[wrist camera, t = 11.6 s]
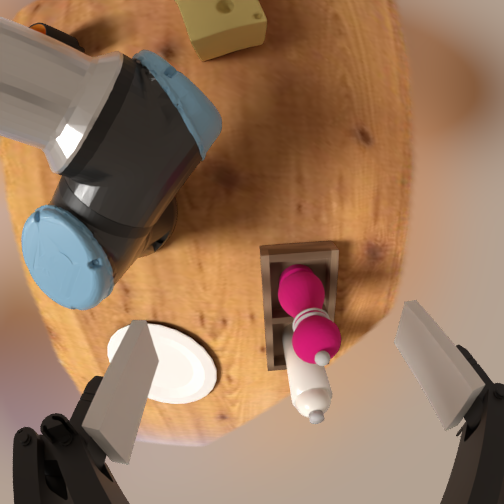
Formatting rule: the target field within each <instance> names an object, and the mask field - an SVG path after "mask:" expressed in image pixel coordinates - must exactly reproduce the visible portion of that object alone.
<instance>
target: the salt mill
mask: <svg viewBox="0 0 504 504" xmlns="http://www.w3.org/2000/svg"><path fill="white" fill-rule="evenodd" d="M292 325H293V323H290V324H289V325H287V326H286V327H285V328H284V329H283V331H282V342H283V348H284V354H285V360H286V366H287V373H288V379H289V385H290V391H291V398H292V403H293V405H294V406H295V407H296V408H297V410H298V412H299V413H300V414H302V415H303V416H305V417H308V418H309V419H310V423H312V424H318V423H321V422H322V421H323V420H324V415H323V414H324V413H325V412H326V411H327V410H328V408H329V406H330V403H331V398H332V391H331V387H330V384H329V381H328V377H327V374H326V371H325V367H324V366H319V365H317V364H310V363H307V362H304V361H303V360H301V359H300V358H299V357H298V356H297V355H296V353H295V351H294V349H293V346H292V337H293V333H294V331H293V326H292Z"/></svg>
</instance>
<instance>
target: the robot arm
mask: <svg viewBox="0 0 504 504" xmlns="http://www.w3.org/2000/svg"><path fill="white" fill-rule="evenodd" d="M221 129H222V119H221V116H220V114H219V112H218V110H217V109H216V107H215V106H214V105H213V104H212V102H211V101H210V100H209V99H208V98H207V97H206V96H205V95H204V94H203V92H202V91H201V90H200V89H199V88H198V87H196V86H195V85H194V84H193V83H192V82H191V81H190V80H189V79H188V78H187V77H186V76H184V75H183V74H182V73H181V72H178V71H176V69H175V68H174V67H173V66H171V65H170V64H169V63H168V62H167V61H166V60H164V59H163V58H162V57H160V56H158V55H157V54H155V53H153V52H151V51H148V50H142V51H140V52H139V53H136V54H135V55H134V56H133V58H132V59H131V58H129V57H128V56H126V55H124V54H123V53H121V52H119V51H114V52H111V53H107V54H103V55H100V56H97V57H90V56H88V55H86V54H85V53H83V52H81V51H79V50H77V49H75V48H73V47H70V46H68V45H66V44H64V43H62V42H60V41H58V40H56V39H54V38H51V37H49V36H47V35H45V34H42V33H40V32H38V31H36V30H33V29H31V28H28V27H26V26H23V25H21V24H18V23H16V22H13V21H11V20H8V19H5V18H2V17H0V135H1V136H4V137H7V138H10V139H13V140H16V141H19V142H22V143H25V144H28V145H31V146H34V147H36V148H39V149H42V150H43V151H44V153H45V155H46V158H47V160H48V163H49V166H50V168H51V171H52V172H53V173H56V174H59V175H62V177H61V179H60V182H59V184H58V186H57V188H56V191H55V193H54V195H53V198H52V200H51V201H50V203H49V204H48V205H45V206H41V207H40V208H37V209H36V210H35V212H34V213H33V214H31V215H30V217H29V218H28V219H27V221H26V223H25V225H24V228H23V232H22V252H23V256H24V260H25V263H26V265H27V267H28V269H29V271H30V274H31V276H32V278H33V279H34V281H35V282H36V284H37V285H38V286H39V287H40V289H41V290H42V291H43V292H44V293H45V294H46V295H47V296H48V297H50V298H51V299H52V300H53V301H55V302H56V303H58V304H60V305H62V306H64V307H66V308H69V309H79V310H87V309H91V308H93V307H95V306H97V305H98V304H99V303H100V302H101V301H102V300H103V299H105V298H106V297H108V296H109V295H110V293H111V292H112V290H113V287H114V285H115V284H116V283H117V282H118V280H119V279H120V278H121V277H122V276H123V274H124V273H125V272H126V271H127V270H128V268H129V267H130V266H131V265H132V264H133V263H134V261H135V260H136V259H137V258H140V257H144V256H147V255H150V254H152V253H154V252H155V251H157V250H158V249H159V248H161V247H162V246H163V245H164V243H165V242H166V241H167V240H168V238H169V237H170V235H171V234H172V232H173V230H174V227H175V224H176V220H177V203H176V198H175V195H176V193H177V192H178V191H179V189H180V188H181V187H182V185H183V184H184V183H185V181H186V180H187V178H188V177H189V176H190V174H191V173H192V172H193V170H194V169H195V168H196V167H197V165H198V164H199V163H200V161H203V160H204V159H205V157H206V152H207V151H208V150H209V148H210V147H211V145H212V144H213V143H214V141H215V140H216V139H217V137H218V136H219V134H220V132H221ZM394 343H395V345H396V346H397V348H398V350H399V351H400V353H401V355H402V356H403V358H404V359H405V361H406V363H407V364H408V366H409V368H410V369H411V371H412V373H413V374H414V376H415V378H416V379H417V381H418V383H419V384H420V386H421V388H422V390H423V391H424V393H425V395H426V397H427V398H428V400H429V402H430V404H431V406H432V407H433V409H434V411H435V413H436V415H437V416H438V418H439V420H440V422H441V424H442V426H443V427H444V430H445V431H446V430H448V429H451V428H453V427H455V426H457V425H458V424H459V423H460V421H461V420H462V419H463V417H464V419H465V420H466V422H465V424H464V425H463V426H462V427H461V429H460V430H459V431H458V433H457V435H456V436H459V434H460V433H461V432H462V435H461V439H460V444H459V447H458V452H457V455H456V459H455V462H454V466H453V469H452V472H451V475H450V478H449V482H448V484H447V487H446V490H445V493H444V495H443V498H442V501H441V503H440V504H504V385H503V384H501V383H495V384H494V383H493V382H492V381H491V380H490V378H489V377H488V376H487V374H486V373H485V372H484V371H483V369H482V368H481V367H480V365H479V364H477V362H476V360H475V359H474V358H473V357H472V355H471V354H470V353H469V352H468V351H467V350H466V349H465V348H463V347H462V346H460V345H457V346H455V345H454V343H453V342H452V341H451V340H450V339H449V337H448V336H447V335H446V334H445V333H444V331H443V330H442V329H441V328H440V327H439V325H438V324H437V323H436V322H435V321H434V320H433V318H432V317H431V316H430V315H429V314H428V313H427V312H426V311H425V309H424V308H423V307H422V306H421V305H420V304H419V303H418V302H417V301H416V300H414V301H407V302H405V303H404V307H403V311H402V315H401V319H400V323H399V326H398V330H397V334H396V337H395V340H394ZM158 363H159V359H158V356H157V353H156V350H155V347H154V344H153V341H152V337H151V334H150V331H149V328H148V324H147V321H146V320H132V322H131V324H130V326H129V328H128V330H127V332H126V333H125V335H124V337H123V339H122V341H121V343H120V345H119V347H118V349H117V351H116V353H115V355H114V357H113V359H112V361H111V363H110V365H109V367H108V369H107V371H106V373H105V375H104V377H101V376H95V377H94V378H93V379H92V380H91V381H90V382H88V384H87V386H86V388H85V390H84V393H83V394H82V396H81V398H80V401H79V402H78V404H77V406H76V408H75V410H74V412H73V415H72V417H71V419H70V421H69V420H68V419H67V418H66V417H65V416H64V415H62V414H57V413H55V414H51V415H49V416H47V417H46V418H45V419H44V420H43V421H42V424H41V426H40V427H41V432H42V434H43V435H38V434H37V433H36V432H35V431H34V430H33V429H32V428H30V427H24V428H21V429H20V430H18V431H17V433H16V434H15V437H14V444H13V489H14V490H13V491H14V504H129V502H128V501H127V499H126V497H125V496H124V494H123V492H122V491H121V489H120V487H119V486H118V484H117V482H116V481H115V479H114V477H113V475H112V473H111V471H110V469H109V468H108V466H107V464H106V463H105V458H106V455H107V456H108V457H109V459H110V460H111V461H113V462H117V463H122V464H126V465H128V464H129V461H130V457H131V454H132V450H133V446H134V442H135V439H136V435H137V432H138V428H139V425H140V421H141V418H142V414H143V411H144V407H145V404H146V401H147V398H148V394H149V391H150V388H151V385H152V381H153V378H154V375H155V372H156V369H157V366H158Z"/></svg>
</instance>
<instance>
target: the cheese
mask: <svg viewBox="0 0 504 504" xmlns="http://www.w3.org/2000/svg"><path fill="white" fill-rule="evenodd" d="M175 2H176V3H177V5H178V7H179V9H180V12H181V15H182V17H183V20H184V23H185V26H186V29H187V32H188V35H189V38H190V41H191V43H192V46H193V48H194V50H195V52H196V53H197V55H198V57H199V58H200V60H201V61H206V60H210V59H213V58H216V57H219V56H222V55H225V54H228V53H231V52H234V51H237V50H241V49H245V48H249V47H253V46H258V45H262V44H263V42H264V39H265V33H266V29H267V18H266V16H265V14H264V12H263V9H262V7H261V5H260V3H259V1H258V0H175Z"/></svg>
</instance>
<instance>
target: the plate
mask: <svg viewBox="0 0 504 504" xmlns="http://www.w3.org/2000/svg"><path fill="white" fill-rule="evenodd" d="M147 324H148V328H149V331H150V334H151V337H152V341H153V344H154V347H155V350H156V353H157V356H158V359H159V363H158V366H157V369H156V372H155V375H154V378H153V381H152V385H151V388H150V391H149V394H148V398H150V399H153V400H156V401H159V402H165V403H172V404H181V403H189V402H193V401H197V400H199V399H201V398H203V397H205V396H207V395H208V394H209V392H210V391H211V390H212V389H213V388H214V385H215V383H216V381H217V369H216V367H215V364H214V362H213V359H212V357H211V356H210V355H209V354H208V352H207V351H206V350H205V349H204V347H202V346H201V345H200V344H199V343H197V342H196V341H195V340H194V339H193V338H191V337H189V336H187V335H186V334H184V333H182V332H180V331H178V330H176V329H173V328H170V327H166V326H163V325H160V324H151V323H147ZM129 326H130V325H128V326H125V327H123V328H121V329H119V330H118V331H117V332H116V333H115V334H114V335H113V336H112V337H111V339H110V341H109V344H108V358H109V361H110V363H111V361H112V359H113V357H114V355H115V353H116V351H117V349H118V347H119V345H120V343H121V341H122V339H123V337H124V335H125V333H126V332H127V330H128V328H129Z"/></svg>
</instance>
